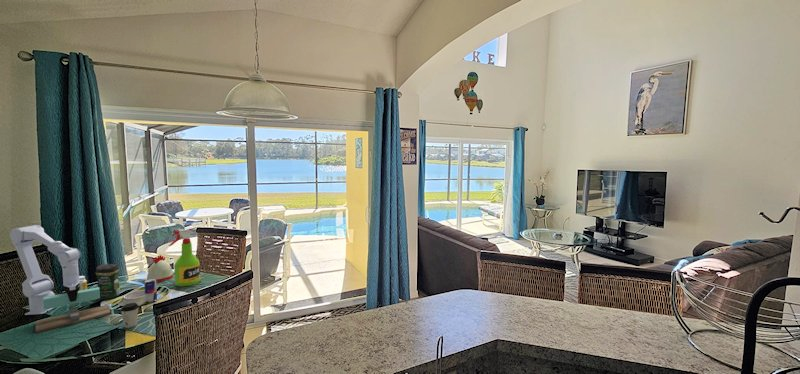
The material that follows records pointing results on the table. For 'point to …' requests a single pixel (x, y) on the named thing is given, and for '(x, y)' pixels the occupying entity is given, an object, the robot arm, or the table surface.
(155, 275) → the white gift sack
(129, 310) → the coffee cup
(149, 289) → the energy drink
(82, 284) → the supplement bottle
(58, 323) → the balance board
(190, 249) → the spray bottle
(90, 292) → the batten
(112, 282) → the coffee jar
